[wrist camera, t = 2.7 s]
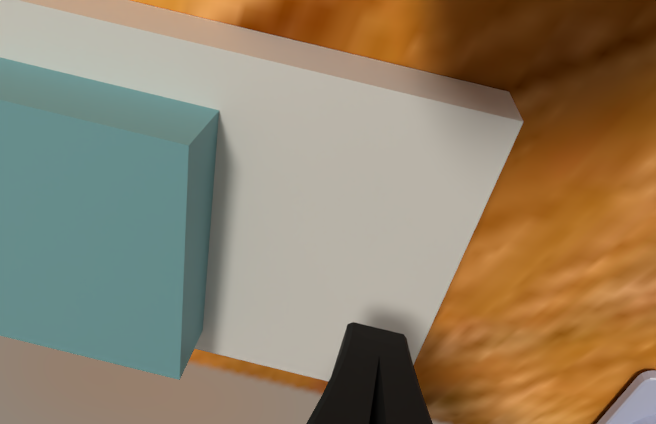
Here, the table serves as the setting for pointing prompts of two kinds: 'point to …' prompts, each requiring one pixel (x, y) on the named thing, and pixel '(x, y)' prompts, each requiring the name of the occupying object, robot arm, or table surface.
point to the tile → (103, 218)
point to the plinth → (300, 170)
